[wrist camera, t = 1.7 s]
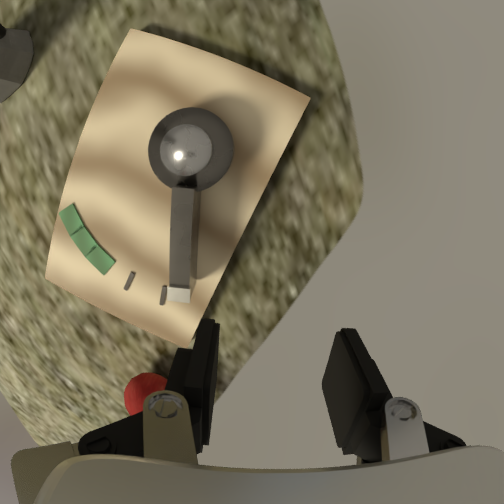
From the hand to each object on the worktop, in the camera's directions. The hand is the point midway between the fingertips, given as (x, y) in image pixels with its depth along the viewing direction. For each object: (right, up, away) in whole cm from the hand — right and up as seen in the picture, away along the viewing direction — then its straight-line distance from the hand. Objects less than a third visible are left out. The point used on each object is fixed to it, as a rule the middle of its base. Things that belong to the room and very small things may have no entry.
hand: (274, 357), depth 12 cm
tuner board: (-9, +9, +15) cm, 20 cm away
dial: (-6, +8, +14) cm, 17 cm away
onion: (-12, -10, +22) cm, 27 cm away
